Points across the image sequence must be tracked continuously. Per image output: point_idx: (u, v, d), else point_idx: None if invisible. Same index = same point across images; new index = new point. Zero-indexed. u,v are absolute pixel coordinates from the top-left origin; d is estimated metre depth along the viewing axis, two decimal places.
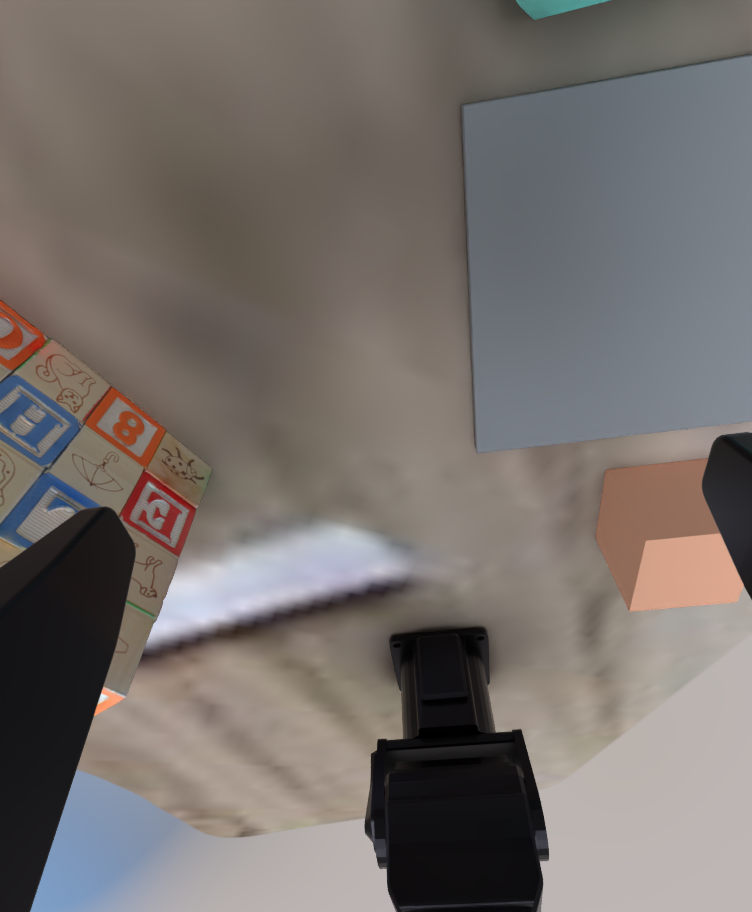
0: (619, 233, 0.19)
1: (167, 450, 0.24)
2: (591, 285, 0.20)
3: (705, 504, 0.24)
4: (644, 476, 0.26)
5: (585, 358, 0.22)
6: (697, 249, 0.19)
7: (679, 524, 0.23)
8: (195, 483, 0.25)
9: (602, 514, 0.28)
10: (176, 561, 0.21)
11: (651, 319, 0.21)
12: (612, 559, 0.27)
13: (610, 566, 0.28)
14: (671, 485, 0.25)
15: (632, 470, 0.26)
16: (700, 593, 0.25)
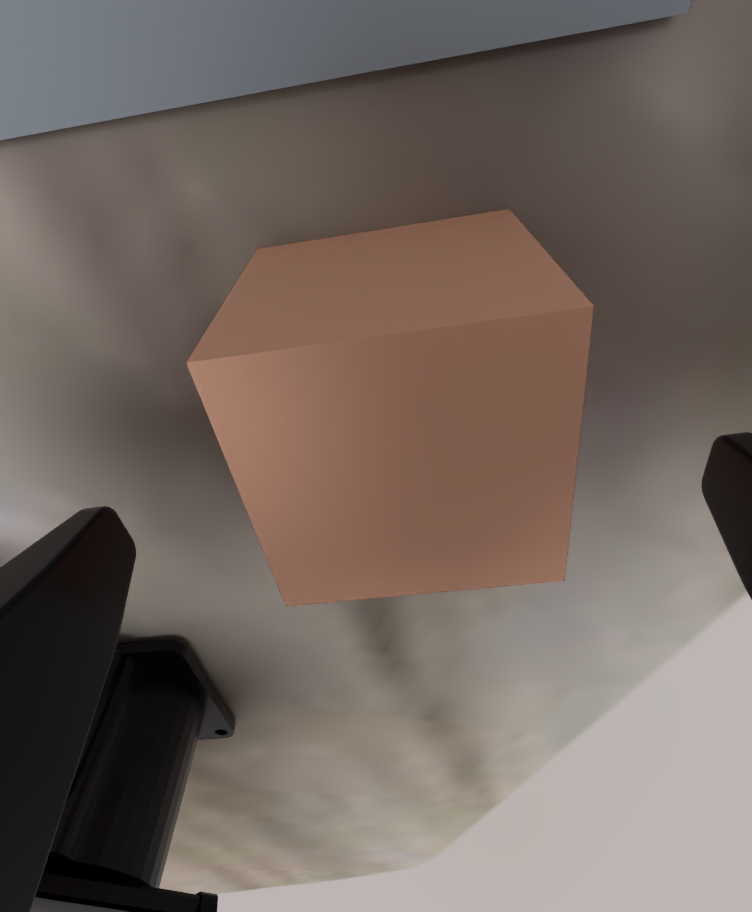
0: None
1: None
2: None
3: (436, 276, 0.08)
4: (330, 248, 0.10)
5: None
6: None
7: (324, 320, 0.07)
8: None
9: None
10: None
11: None
12: None
13: None
14: (378, 254, 0.09)
15: (314, 243, 0.10)
16: (454, 555, 0.09)
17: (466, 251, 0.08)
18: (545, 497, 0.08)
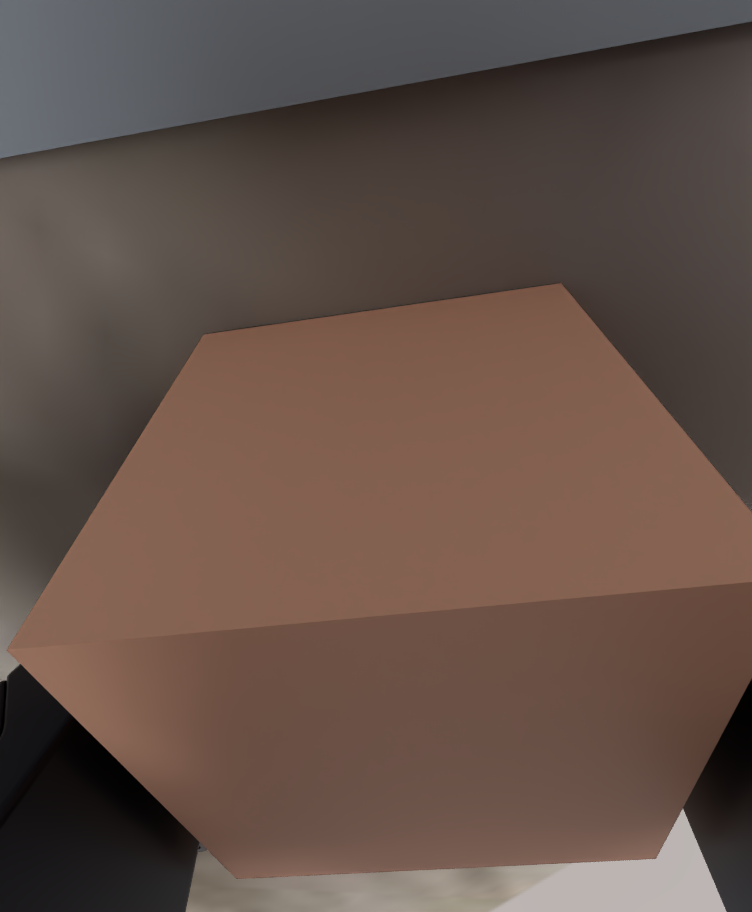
0: None
1: None
2: None
3: (469, 435, 0.05)
4: (303, 347, 0.07)
5: None
6: None
7: (274, 543, 0.04)
8: None
9: None
10: None
11: None
12: None
13: None
14: (374, 368, 0.06)
15: (281, 333, 0.07)
16: (491, 838, 0.06)
17: (511, 374, 0.05)
18: (647, 791, 0.05)
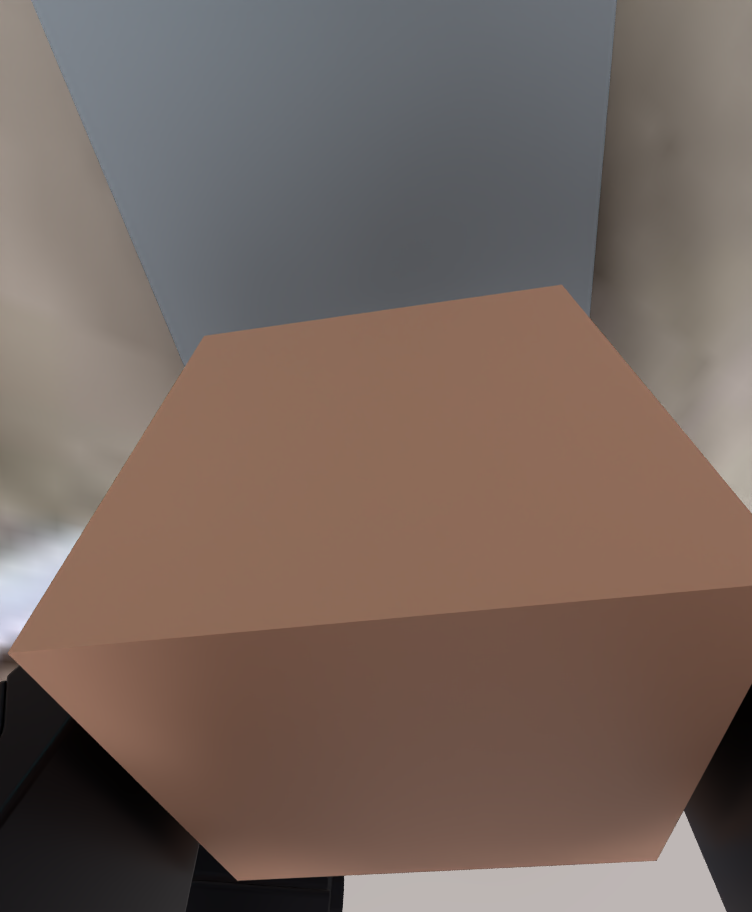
0: (290, 143, 0.14)
1: None
2: (279, 217, 0.16)
3: (470, 438, 0.05)
4: (304, 349, 0.07)
5: (306, 317, 0.17)
6: (400, 164, 0.15)
7: (275, 546, 0.04)
8: None
9: None
10: None
11: (372, 263, 0.16)
12: None
13: None
14: (374, 371, 0.06)
15: (282, 335, 0.07)
16: (491, 840, 0.06)
17: (512, 376, 0.05)
18: (648, 793, 0.05)
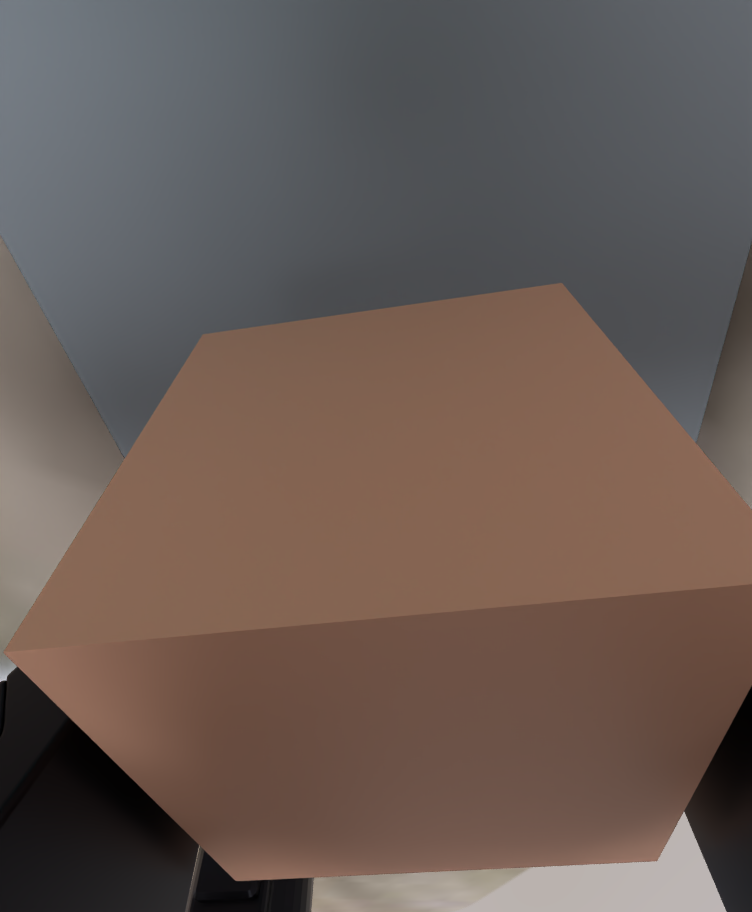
0: (298, 260, 0.10)
1: None
2: None
3: (469, 436, 0.05)
4: (303, 347, 0.07)
5: None
6: (453, 288, 0.10)
7: (273, 545, 0.04)
8: None
9: None
10: None
11: None
12: None
13: None
14: (373, 368, 0.06)
15: (281, 333, 0.07)
16: (491, 841, 0.06)
17: (511, 374, 0.05)
18: (648, 793, 0.05)
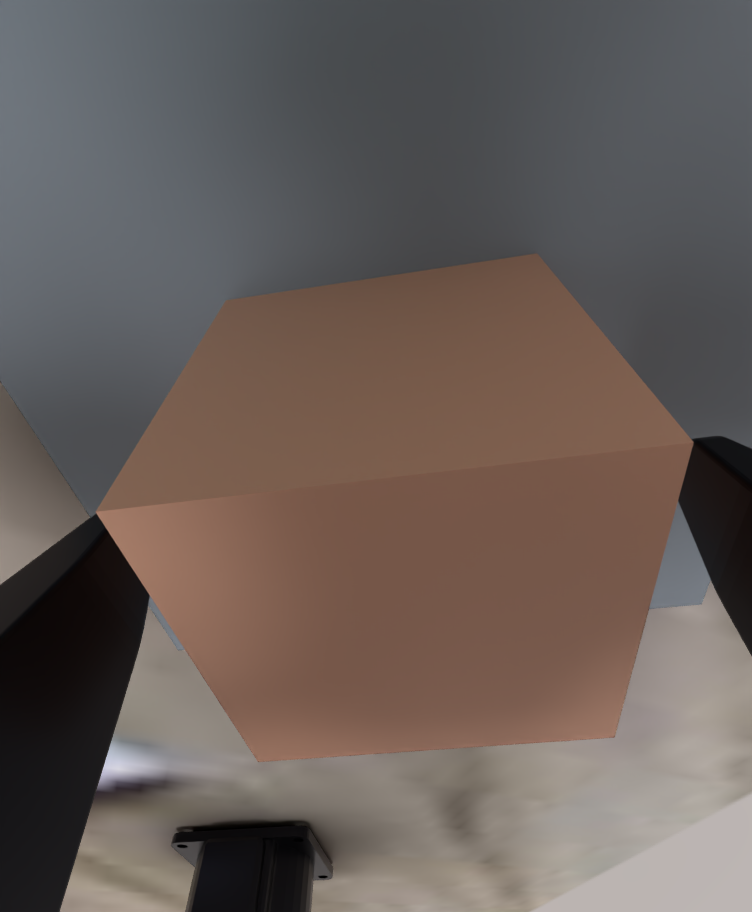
0: None
1: None
2: None
3: (452, 365, 0.06)
4: (314, 307, 0.08)
5: None
6: None
7: (297, 439, 0.05)
8: None
9: None
10: None
11: None
12: None
13: None
14: (374, 321, 0.07)
15: (294, 297, 0.08)
16: (473, 713, 0.07)
17: (489, 321, 0.06)
18: (598, 658, 0.06)
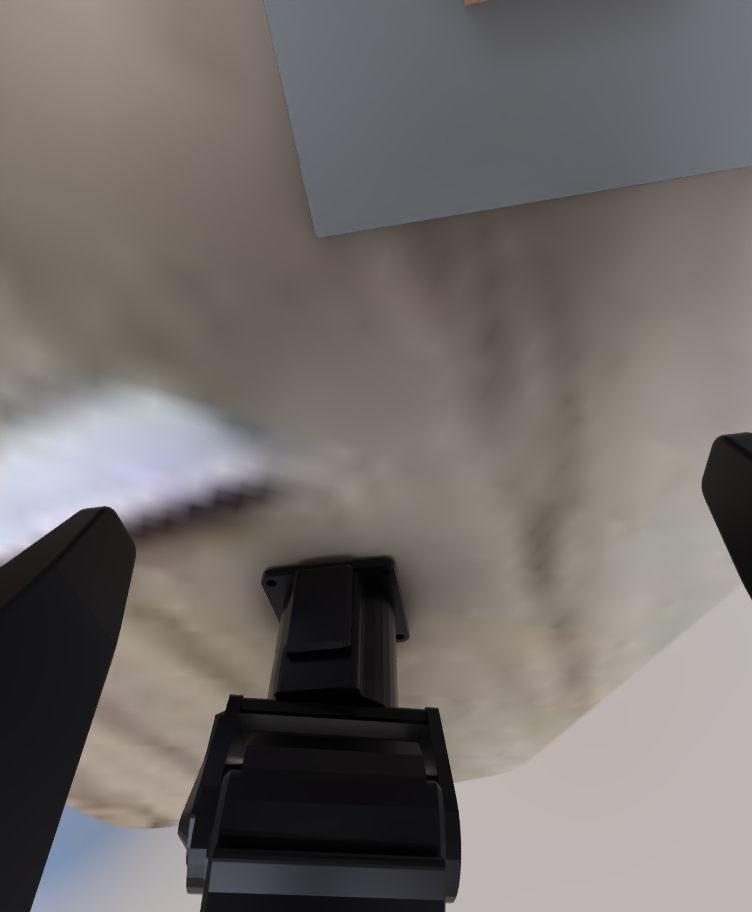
0: None
1: None
2: None
3: None
4: None
5: (472, 9, 0.12)
6: None
7: None
8: None
9: None
10: None
11: None
12: None
13: None
14: None
15: None
16: None
17: None
18: None
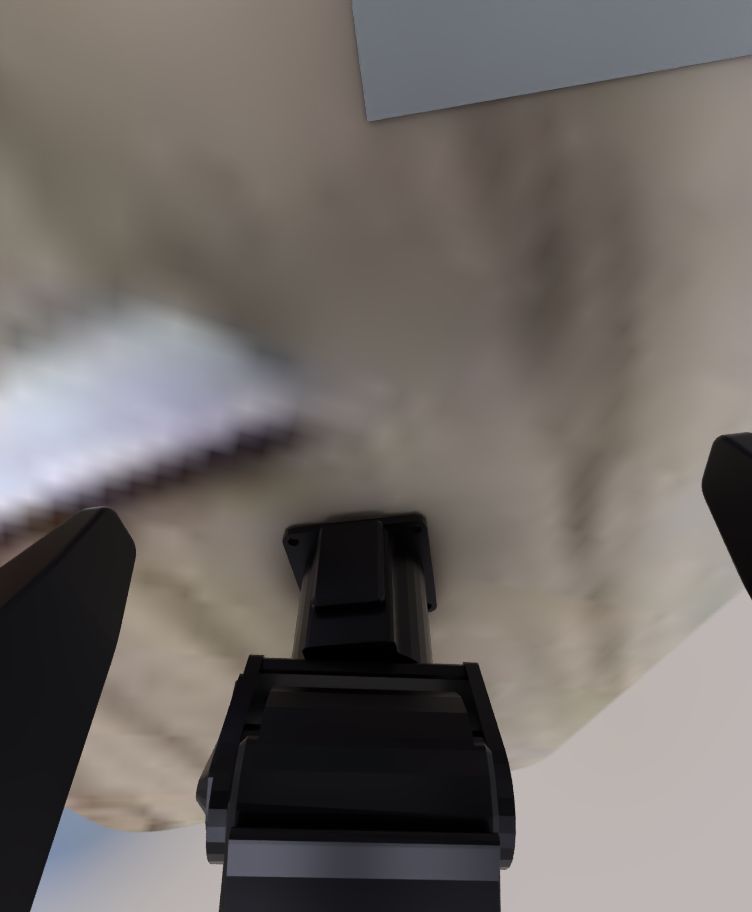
0: None
1: None
2: None
3: None
4: None
5: None
6: None
7: None
8: None
9: None
10: None
11: None
12: None
13: None
14: None
15: None
16: None
17: None
18: None
